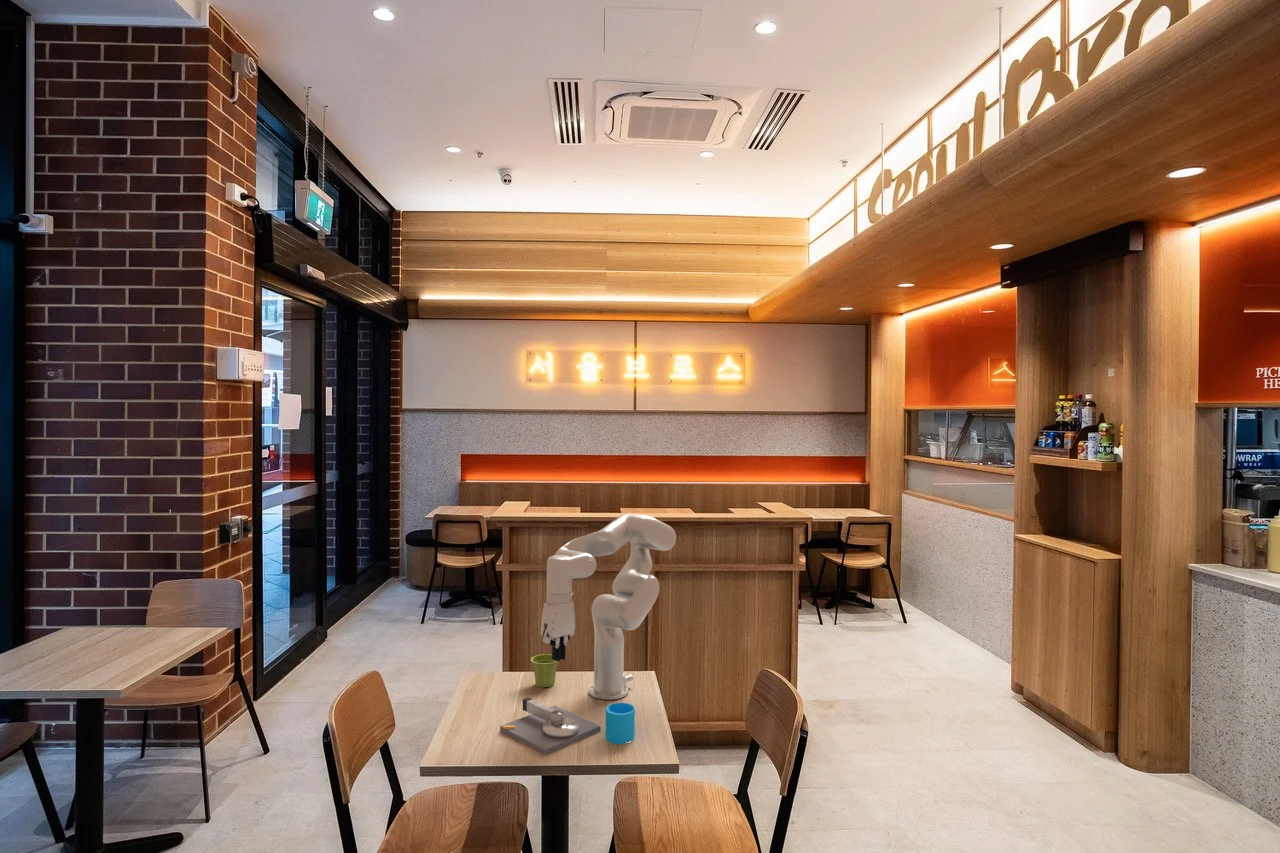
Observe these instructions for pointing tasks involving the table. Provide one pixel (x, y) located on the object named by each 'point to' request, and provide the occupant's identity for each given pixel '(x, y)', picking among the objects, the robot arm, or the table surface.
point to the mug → (620, 723)
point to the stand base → (532, 734)
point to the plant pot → (544, 670)
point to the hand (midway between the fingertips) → (558, 659)
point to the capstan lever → (552, 720)
